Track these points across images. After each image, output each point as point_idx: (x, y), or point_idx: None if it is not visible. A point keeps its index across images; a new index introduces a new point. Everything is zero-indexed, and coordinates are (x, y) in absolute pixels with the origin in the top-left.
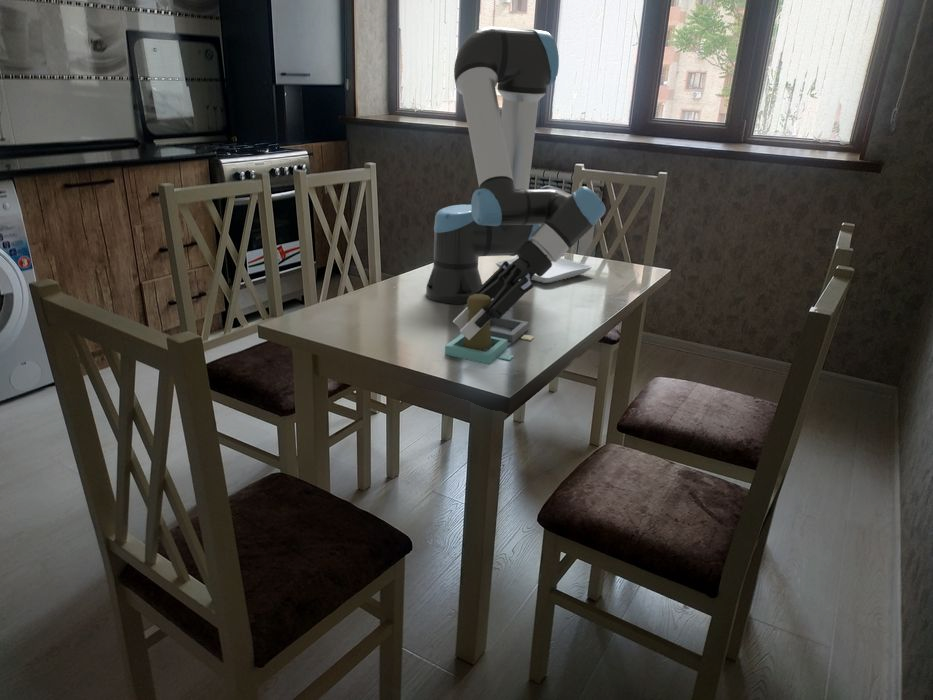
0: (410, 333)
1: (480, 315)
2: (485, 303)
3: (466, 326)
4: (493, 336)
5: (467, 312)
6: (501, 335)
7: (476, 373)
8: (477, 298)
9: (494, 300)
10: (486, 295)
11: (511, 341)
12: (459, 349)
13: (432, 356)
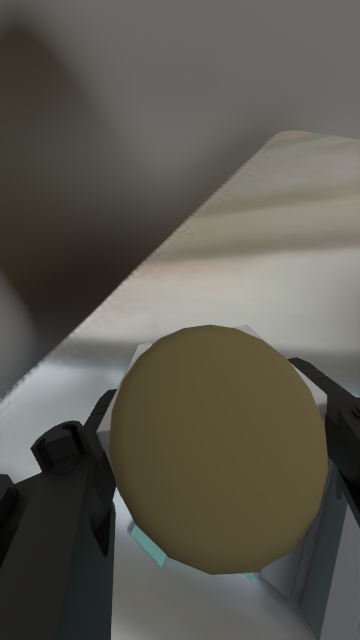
0: (305, 272)
1: None
2: (112, 461)
3: (133, 357)
4: (330, 514)
5: None
6: (328, 561)
7: (75, 401)
8: (145, 383)
9: (1, 602)
10: (246, 516)
11: (305, 608)
12: None
13: (176, 314)
